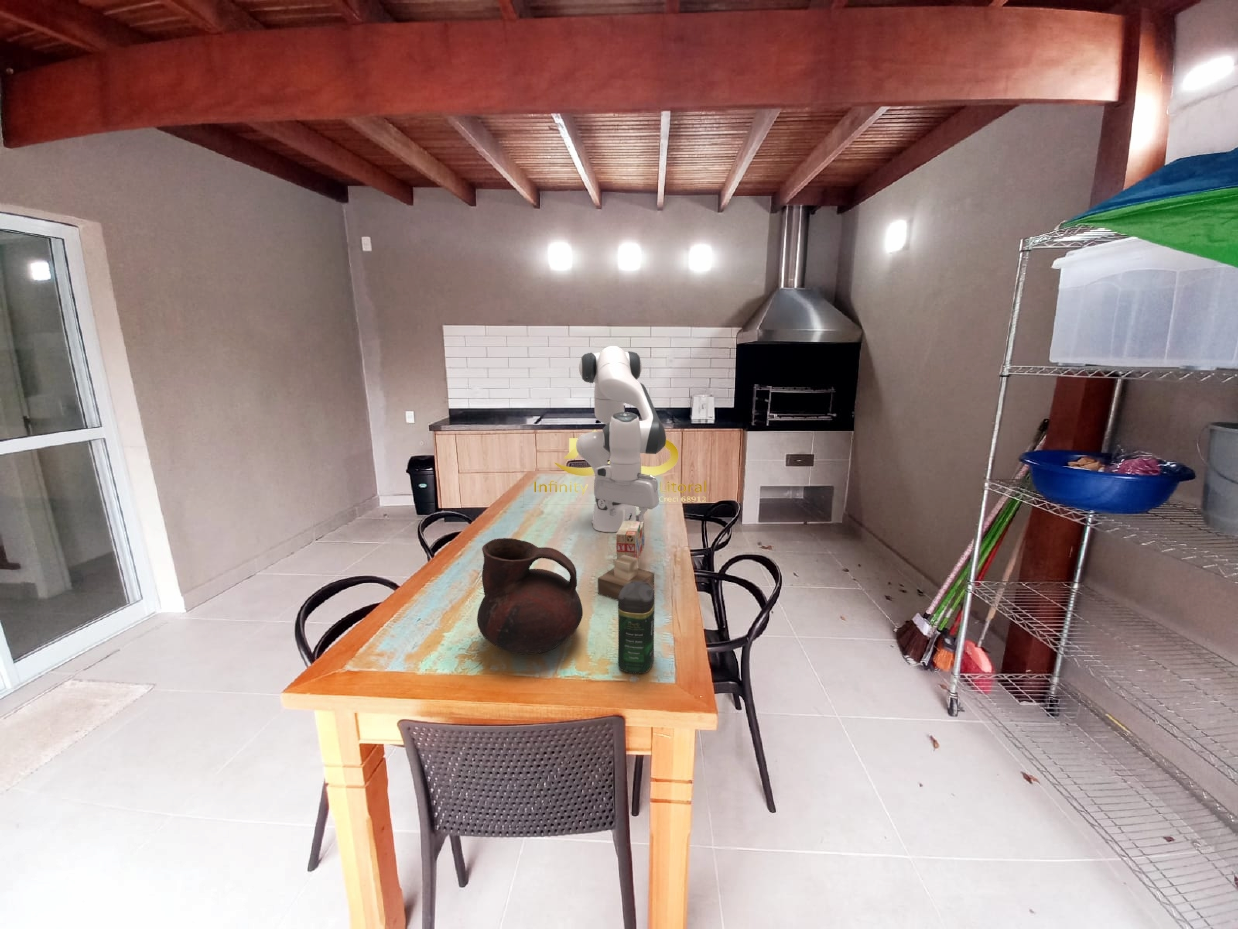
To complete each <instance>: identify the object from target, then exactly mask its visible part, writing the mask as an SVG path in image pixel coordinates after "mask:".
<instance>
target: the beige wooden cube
mask: <svg viewBox="0 0 1238 929" xmlns="http://www.w3.org/2000/svg"><path fill="white" fill-rule="evenodd" d="M613 568H614V577H618V578H621V579H624V580H628V581H629V580H630V579H632V578H633V577H635V576H636V575H638V568H639V561H638V559H637V558H634V557H630V556H626V555H623V556H621V557H619V558H618V559H617V558H616V559H614V561H613Z"/></svg>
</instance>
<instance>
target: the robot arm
mask: <svg viewBox="0 0 1238 929" xmlns="http://www.w3.org/2000/svg"><path fill="white" fill-rule="evenodd" d="M578 370H579V374H580V377H581V379H582V381H584V383H585V382H586V383H588V384H593V383H594V391H593V392H594V393H593V394H594V398H593V399H594V401H593V402H594V417H595V419H596V420H598V421H599V422H600V423H601V424H603V425H605V426H604V427H603V428H602V431H589V432H584V433H581V434H580V435H579V436H578V438H577V439H576V444H575V446H576V447H575V448H576V452H577V453H578V455H579V457H580V458H581V459H583V460H584V461H586V462H587V463H588V465H589V466H590V468H591V469H592V472H593V473H594V482H593V494H594V498H595V500H594V502H595V504H594V506H593V518H592V520H591V524H592V527H593V529H594V530H596V531H599V532H605V533H617V532H618V530H619V528H620V527H621V525H622V523H623V521H638V522H642V521H644V519H645V518H644V517H645V514H646V512H647V510H653V509H655V508H656V507H658V506H659V504H660V497H659V496H660V495H659V490H658V488H659V481H658V480H657V478H655V476H654V475H653V474H645V473H642V457H641V454H647V455H656V454H658V453H659V452H660V451H662V449H664V448H665V446H666V443H667V441H666V440H667V433H666V429H665V427H664V425H663V423H662V421H661V419H660V418H659V416H658V413H657V411H656V408H655V406H654V404H653V401H652V399H651V397H650V394H649V392H648V390H647V388H646V386H645V384H643V383H642V382H640V381H638V379H639V378H640V376H641V373H642V370H643V364H642V360H641V357H640V354H638V353H637V352H634V351H625V350H624V349H623V348H621V347H620V346H616V345H609V346H606V347H605V348H603V349H602V350H601V351H599V352H587V353H584V354H583V355H582V356H581V359H580V361H579V364H578ZM625 404H627V405H630V406H633V407H635V408H636V409H637V410H638V413H639V414H640V418H641V420H640V419H639V416H638V414H636V413H633V412H628V411H625ZM608 461H609V462H608ZM636 507H637V508H638V511H639V513H638V514H637V508H636Z"/></svg>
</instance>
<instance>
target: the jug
mask: <svg viewBox="0 0 1238 929" xmlns="http://www.w3.org/2000/svg"><path fill="white" fill-rule="evenodd" d="M481 551H482V555H483V564H482V569H481V570H482V573H481V583H482V588H483V594H484V596H483V598H482V600H481V603H480V604H479V606H478V610H477V616H476V617H477V619H476V623H477V628H478V629H479V631H480V634H481V635H482V636H483V638H484V639H485V640H486V641H488V642H489V643H490V644H492V645H494V646H495V647H497V648H499V649H501V650H503V651H506V652H509V653H512V654H519V655H520V654H521V655H533V654H534V655H535V654H539V653H540V654H541V653H544V652H549V651H550V650H553V649H555V648H557V647H559V646H560V645H562V644H564V643H565V642H566V641H568V639H570V638H571V636H572V635H574V633H575V632H576V631H577V629H578V628H579V625H580V624H581V623H582V622H581V621H582V619H583V614H584V612H583V611H584V610H583V605H582V602H581V601H582V600H581V598H580V595H579V593H578V591H577V586H578V578H577V575H578V574H577V568H576V566H575V564H574V563H573V561H572V560H571V559H570V558H569V557H568V556H567V555H565V554H564V553H563V552H561V551H560V550H557V549H555V548H553V547H544V546H543V547H542V546H541V547H538V546H536V545H535V544H533V543H531V542H529V541H526V540H520V539H517V538H510V537H509V538H508V537H502V538H494V539H491V540H490V541H488V542H486V543H485V544H484V545H483V546H482V548H481ZM540 559H546V560H551V561H553V562H555V563H557V564H559V566H561V567H562V568H563V569H564V570H566V572H568V574H569V580H568V579H566V578H565V577H564V576H562V575H561V574H559V573H557V572H554V571H551V570H548V569H544V568H531V567H532V565H533V563H534V562H535V561H538V560H540Z"/></svg>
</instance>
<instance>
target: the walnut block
mask: <svg viewBox="0 0 1238 929" xmlns="http://www.w3.org/2000/svg"><path fill="white" fill-rule="evenodd" d="M631 581H639V582H646V583H649V584H650V585H651V586H652V587H653V589H654V590H655V572H652V571H650V570H646V569H642V568H639V567H638V575H636V576H635V577H633V578H632V579H630V580H629V581H628V580H624V579H621V578H618V577H614V567H613V568H611V569H610V570H608V571H607V572H605V573H604V574H601V575H600V576H599V577H597V593H598V595H601V596H604V597H607V598H610V599H613V600H616V601H618V596H619V594H620V592H621V590H622V588H623V587H624V586H625V585H626V584H628V583H630V582H631Z"/></svg>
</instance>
